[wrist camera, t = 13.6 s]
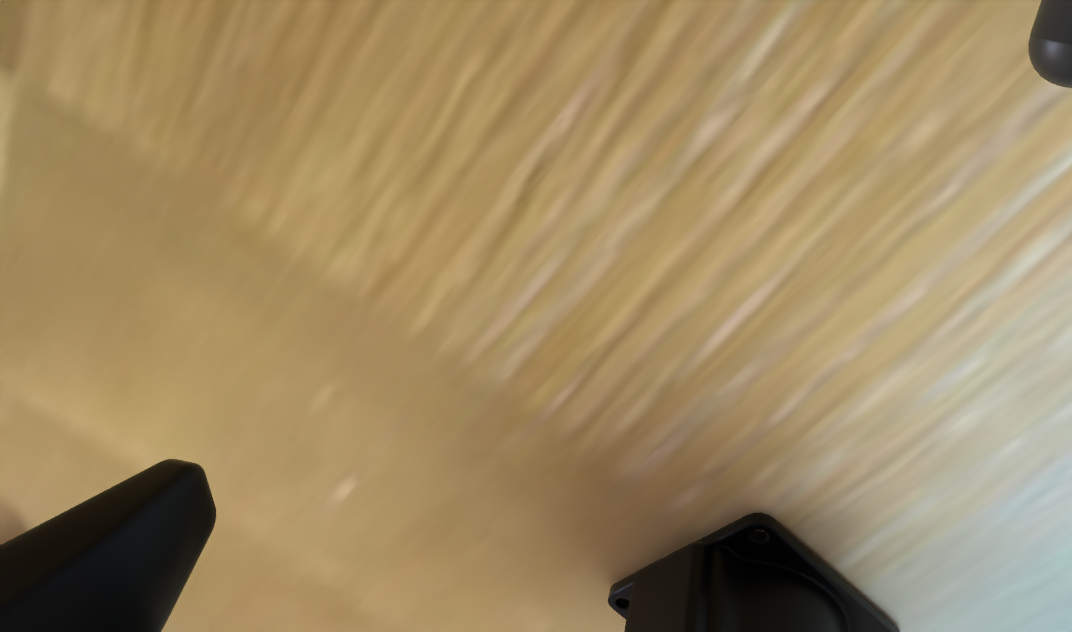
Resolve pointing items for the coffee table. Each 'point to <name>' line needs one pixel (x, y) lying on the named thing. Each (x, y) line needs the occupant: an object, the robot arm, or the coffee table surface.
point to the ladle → (1053, 42)
